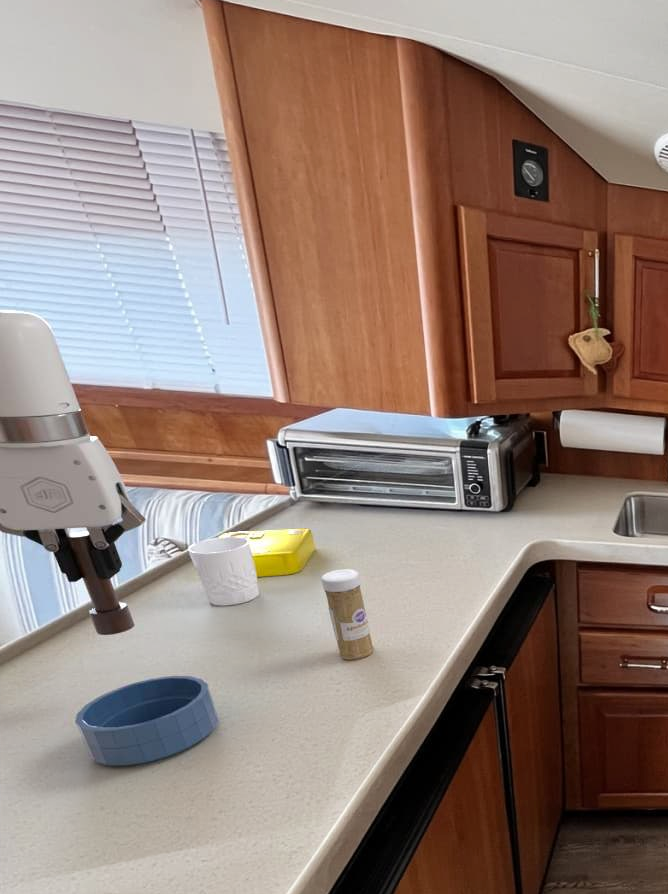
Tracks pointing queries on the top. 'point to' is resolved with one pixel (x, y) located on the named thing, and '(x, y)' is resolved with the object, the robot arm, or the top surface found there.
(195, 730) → the bowl
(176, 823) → the top surface
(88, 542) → the muddler
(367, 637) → the sprinkles bottle
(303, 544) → the yellow box
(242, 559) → the white cup
